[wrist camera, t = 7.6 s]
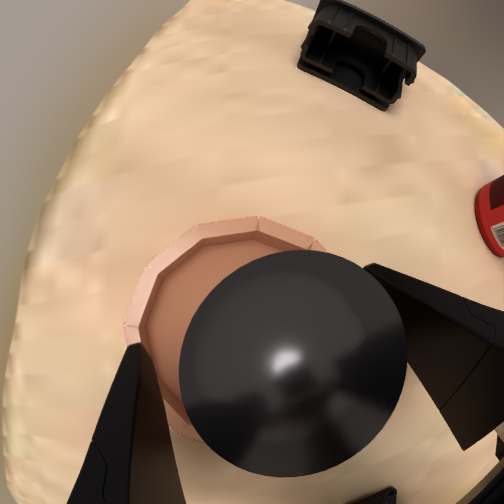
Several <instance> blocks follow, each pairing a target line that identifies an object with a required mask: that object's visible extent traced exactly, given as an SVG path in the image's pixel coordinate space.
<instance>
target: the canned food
mask: <svg viewBox="0 0 504 504" xmlns="http://www.w3.org/2000/svg"><path fill="white" fill-rule="evenodd" d="M475 212H476V218H477V222H478V226H479V229H480V232H481V234H482V237H483V239H484V240H485V242H486V244H487V245H488V247H489V248H490V249H491V251H492V252H493V253H495V254H496V255H498V256H503V257H504V175H503V176H501V177H499V178H497V179H495V180H494V181H492V182H490V183H488V184H486V185H485V186H484V187H482V189H481V190H480V191H479V192H478V194H477V197H476V202H475Z"/></svg>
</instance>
